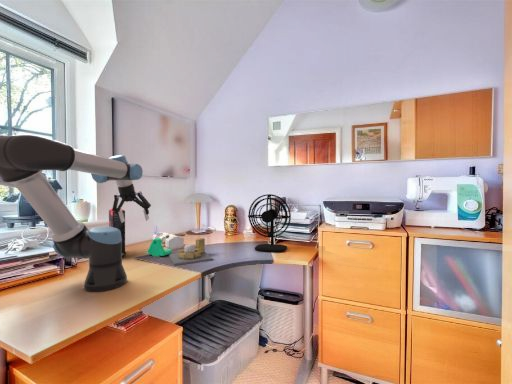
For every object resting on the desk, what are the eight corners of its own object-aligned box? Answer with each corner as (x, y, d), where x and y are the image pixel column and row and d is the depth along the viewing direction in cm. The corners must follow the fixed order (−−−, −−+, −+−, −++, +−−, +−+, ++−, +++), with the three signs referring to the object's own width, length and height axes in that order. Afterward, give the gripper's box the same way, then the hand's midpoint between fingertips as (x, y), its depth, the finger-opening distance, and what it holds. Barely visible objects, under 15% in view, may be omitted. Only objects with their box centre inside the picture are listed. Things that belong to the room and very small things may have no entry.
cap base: (212, 260, 138) (212, 247, 138) (174, 265, 130) (174, 251, 129) (203, 251, 156) (202, 240, 156) (169, 256, 148) (168, 244, 147)
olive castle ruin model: (189, 259, 135) (189, 244, 134) (174, 256, 141) (174, 242, 141) (210, 252, 149) (210, 239, 148) (196, 250, 155) (195, 237, 155)
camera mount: (172, 254, 152) (172, 237, 152) (163, 257, 145) (163, 239, 145) (157, 252, 157) (156, 235, 156) (147, 255, 150) (147, 238, 149)
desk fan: (245, 251, 156) (244, 194, 155) (254, 245, 173) (253, 193, 172) (289, 254, 148) (288, 194, 147) (293, 247, 165) (293, 193, 164)
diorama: (152, 244, 180) (152, 225, 180) (166, 241, 187) (166, 224, 187) (168, 250, 162) (168, 229, 162) (183, 247, 170) (183, 227, 169)
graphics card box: (108, 253, 155) (107, 208, 154) (121, 251, 159) (120, 208, 158) (113, 259, 141) (111, 210, 140) (126, 257, 145) (125, 210, 145)
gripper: (151, 180, 138) (159, 215, 145) (105, 184, 138) (116, 219, 145) (146, 184, 131) (155, 221, 138) (97, 189, 131) (109, 225, 138)
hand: (135, 220), depth 142 cm, fingers open, 13 cm apart
